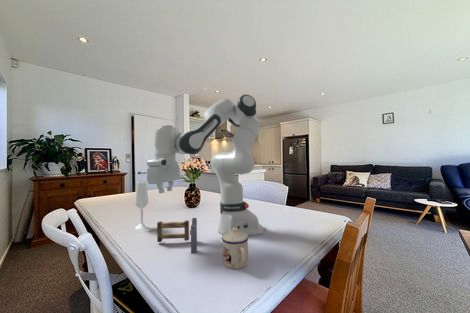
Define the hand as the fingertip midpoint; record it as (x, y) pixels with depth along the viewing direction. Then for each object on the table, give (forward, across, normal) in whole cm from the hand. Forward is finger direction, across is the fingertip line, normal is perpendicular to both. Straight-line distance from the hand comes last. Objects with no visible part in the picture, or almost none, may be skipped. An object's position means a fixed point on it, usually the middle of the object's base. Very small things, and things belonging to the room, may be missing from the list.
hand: (165, 191), depth 88 cm
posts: (+21, +4, +16) cm, 27 cm away
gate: (+20, +3, +5) cm, 21 cm away
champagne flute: (+21, -11, -22) cm, 33 cm away
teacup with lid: (+21, +14, +36) cm, 44 cm away
